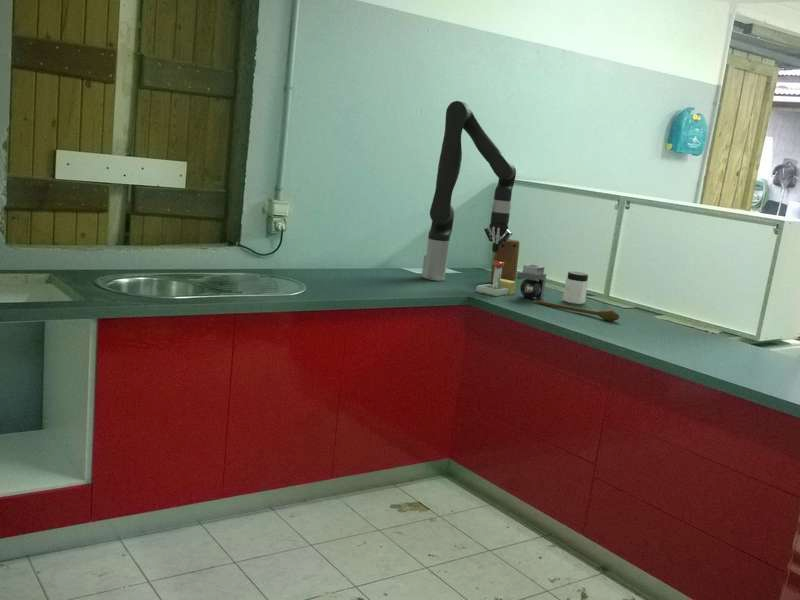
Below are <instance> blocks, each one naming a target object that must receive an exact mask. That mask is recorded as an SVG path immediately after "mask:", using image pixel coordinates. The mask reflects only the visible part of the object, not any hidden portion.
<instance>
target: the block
mask: <svg viewBox="0 0 800 600" xmlns="http://www.w3.org/2000/svg"><path fill="white" fill-rule="evenodd" d="M520 245H521V244H520V240H515V239H511V238H508V240H507V241H506V242H505V243H501V244H500V251H499V252H498V253H494V254H493V260H492V265H491V272H490V282H491V283H492V284H493V277H494V269H495V265H494V261H500V262H504V266H502V272H501V279H505V280H510V281H515V282H516V278H517V273H518V264H519V263H518V262H519V252H520Z"/></svg>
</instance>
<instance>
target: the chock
mask: <svg viewBox="0 0 800 600" xmlns="http://www.w3.org/2000/svg"><path fill="white" fill-rule="evenodd" d="M516 284H517V281H516V280H515V281H510V280H505V279H501V280H500V287H504V288H509V293H508V295H512V294H515V292H516Z"/></svg>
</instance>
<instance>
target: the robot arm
mask: <svg viewBox="0 0 800 600" xmlns="http://www.w3.org/2000/svg"><path fill="white" fill-rule="evenodd" d="M444 123H445V125H444V135H443V140H442V143H441V150H440V154H439V158H438V159H439V160H438V165H437V174H436V182H435V189H434V190H435V191H434V195H433V199H432V202H431V206H430V209H429V217H430V219H431V226H430V229H429V232H428V236H427V237H428V238H427V245H426V253H425V255H423V262H422V269H421V271H422V272H421V278H424V279H427V280H430V281H440V282H441V281H442V282H443V281H445V280H446V279H445V278H446V271H447V265H448V257H449V256H448V255H449V246H450V239H451V235H452V232H453V225H454V220H455V219H454V218H455V209H454V207H453V206H452V205H451V204H452V198H453V197H452V196H453V192H454V189H455V186H456V183H457V181H458V179H459V175H460V172H461V167H462V166H461V164H462V160H463V159H462V158H463V150H462V148H463V147H462V135H463V134H462V133H463V131H465V132H466V133H467V135H468V136H469V137H470V139H471V141H472V143H473V144H474V146H475V147H476V149H477V151H478V152H479V153H480V155H481V156H482V157H483V158H484V160H485V161H486V162H487V163H488V164H489V167H490V168H491V169H492V171H493V173H494V174H495V176H496V177H497V178H498V182H497V186H496V187H495V189H494V195H493V202H492V206H491V214H490V224H489V226H488V227H486V228H484V232H485V235H486V237H487V239H488V241H489V242H492V246H491V249H492V253H494V254H495V253H498V252H499V251H500V244H501V243H505V242H506V241H507V240H508V239H510V238H511V236H512V235H513V232H511V231H510V230H509V225H508V224H509V222H510V221H509V220H510V214H511V206H512V205H511V204H512V194H513V187H514V184H515V180H516V175H517V169H516V166H515V165H514V164H512V163H510V162H508V161H507V159H506V158H505V157H504V155H503V153H502V151H501V149H500V148H499V147H498V146H497V145H496V143H495V142H494V140H493V139H492V138H491V137H490V136H489V135H488V133H487V132H486V131H485V130H484V129H483V127H482V125H481V124H480V122H478V119H477V118H476V116H475V115H474V112H473V111H472V109H471V107H470V105H469V104H468V103H466V102H464V101H459V100H455V101H452V102H451V103H450V104H449V105H448V106H447V107H446V111H445V122H444Z"/></svg>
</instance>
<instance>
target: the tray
mask: <svg viewBox="0 0 800 600" xmlns="http://www.w3.org/2000/svg"><path fill="white" fill-rule="evenodd" d="M492 284H493V283H492ZM492 284H491V283H487V284H479V285H476V290H475V292H477V293H481V294H485V295H488V296H492V297H501V296H507V295H509V294H508V293H509V288H504V287H499V289H498V290H495V289H492Z"/></svg>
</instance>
